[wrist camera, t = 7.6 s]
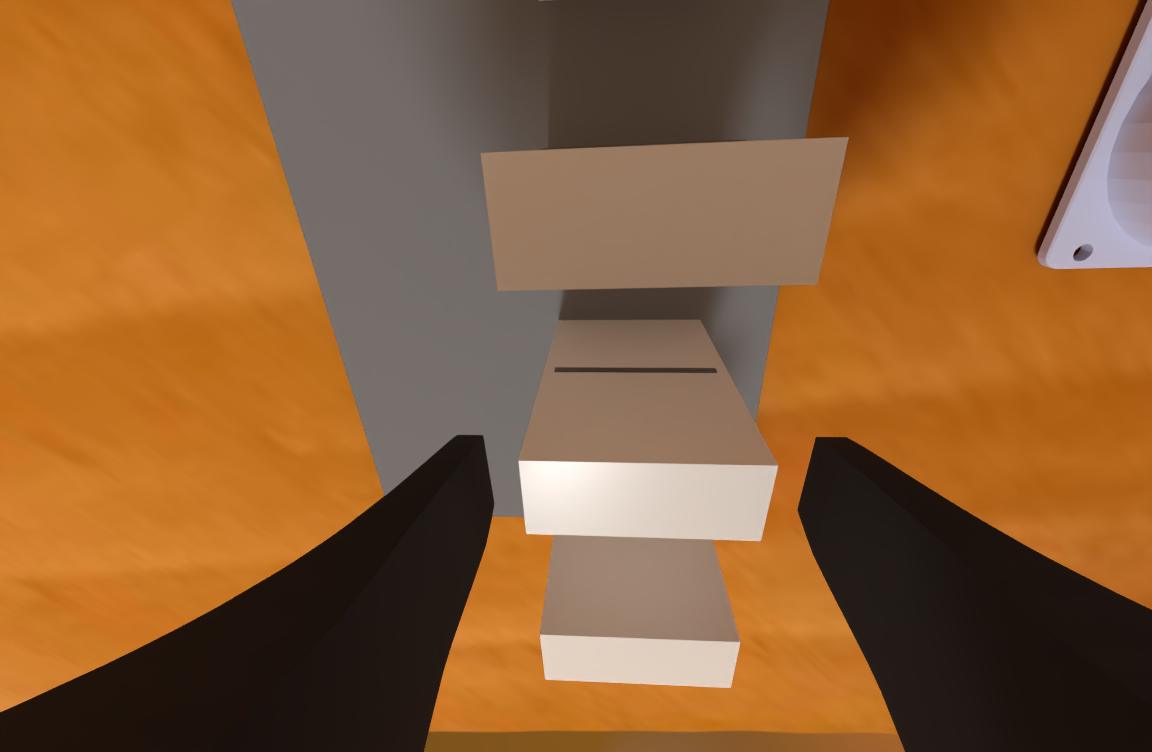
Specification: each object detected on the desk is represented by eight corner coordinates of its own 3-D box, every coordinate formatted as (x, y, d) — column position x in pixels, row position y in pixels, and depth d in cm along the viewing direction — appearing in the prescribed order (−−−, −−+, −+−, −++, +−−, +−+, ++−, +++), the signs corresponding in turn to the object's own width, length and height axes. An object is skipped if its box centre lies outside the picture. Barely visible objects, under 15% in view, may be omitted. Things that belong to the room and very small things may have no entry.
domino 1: (547, 148, 13) (480, 150, 6) (716, 140, 13) (849, 134, 6) (552, 219, 14) (497, 292, 7) (710, 215, 14) (817, 286, 7)
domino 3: (565, 445, 18) (539, 633, 11) (688, 446, 18) (740, 641, 11) (568, 484, 19) (545, 679, 12) (684, 485, 19) (730, 688, 12)
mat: (909, -528, 8) (930, -575, 8) (734, 510, 20) (738, 520, 20) (121, -412, 9) (92, -445, 9) (395, 505, 21) (390, 514, 21)
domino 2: (558, 319, 16) (518, 459, 9) (700, 318, 15) (777, 464, 8) (560, 370, 17) (526, 534, 10) (694, 371, 16) (760, 541, 9)
